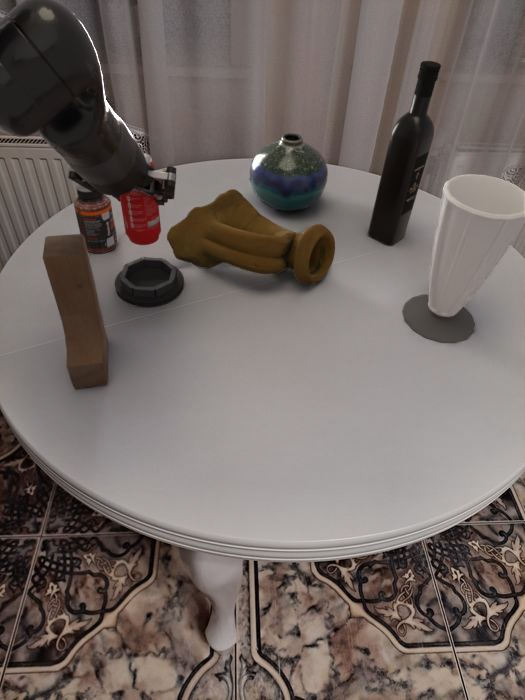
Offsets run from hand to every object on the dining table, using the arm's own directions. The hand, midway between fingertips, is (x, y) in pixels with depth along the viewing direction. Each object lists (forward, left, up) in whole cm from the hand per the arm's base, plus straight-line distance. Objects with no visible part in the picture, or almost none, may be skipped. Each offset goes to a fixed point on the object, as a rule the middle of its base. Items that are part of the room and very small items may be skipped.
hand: (142, 196), depth 74 cm
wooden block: (-17, -10, -15) cm, 25 cm away
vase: (+36, +4, -15) cm, 39 cm away
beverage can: (-1, -1, -6) cm, 6 cm away
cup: (+29, -37, -15) cm, 49 cm away
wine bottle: (+42, -17, -15) cm, 48 cm away
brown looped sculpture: (+15, -8, -15) cm, 23 cm away
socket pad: (-1, -1, -15) cm, 15 cm away
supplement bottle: (-1, +14, -15) cm, 21 cm away
